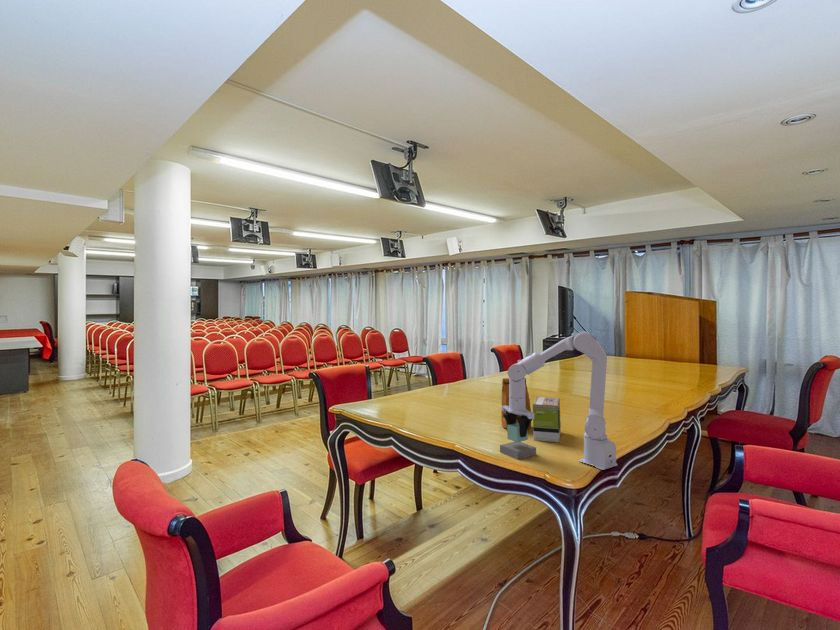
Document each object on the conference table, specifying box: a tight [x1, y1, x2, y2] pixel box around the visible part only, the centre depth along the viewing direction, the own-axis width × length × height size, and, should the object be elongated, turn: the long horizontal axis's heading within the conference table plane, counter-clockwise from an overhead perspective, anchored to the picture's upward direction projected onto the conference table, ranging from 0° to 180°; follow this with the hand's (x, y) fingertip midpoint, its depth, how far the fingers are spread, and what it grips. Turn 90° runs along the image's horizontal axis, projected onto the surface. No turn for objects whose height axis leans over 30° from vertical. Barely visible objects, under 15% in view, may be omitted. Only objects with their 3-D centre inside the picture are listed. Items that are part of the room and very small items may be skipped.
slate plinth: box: [499, 441, 537, 460], centre depth 148 cm, size 9×9×3 cm
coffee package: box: [500, 377, 532, 430], centre depth 181 cm, size 10×12×22 cm
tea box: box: [532, 396, 562, 443], centre depth 168 cm, size 15×10×15 cm, turn 159°
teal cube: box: [506, 423, 529, 442], centre depth 148 cm, size 5×5×5 cm
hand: (517, 434), depth 148 cm, fingers closed on teal cube, 5 cm apart
